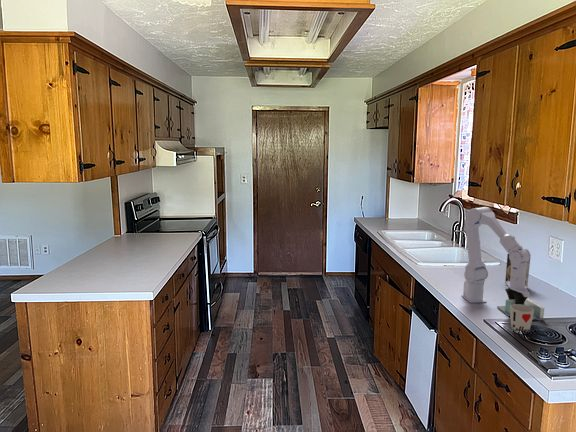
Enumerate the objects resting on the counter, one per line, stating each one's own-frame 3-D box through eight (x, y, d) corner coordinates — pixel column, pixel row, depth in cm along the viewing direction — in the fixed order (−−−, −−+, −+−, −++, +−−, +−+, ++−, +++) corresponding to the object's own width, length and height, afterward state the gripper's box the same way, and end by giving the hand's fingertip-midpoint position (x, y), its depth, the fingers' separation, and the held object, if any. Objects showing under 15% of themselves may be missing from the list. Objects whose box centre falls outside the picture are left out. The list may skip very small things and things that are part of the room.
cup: (507, 333, 166) (509, 309, 165) (509, 326, 173) (511, 302, 171) (530, 338, 162) (533, 313, 160) (532, 330, 168) (534, 306, 167)
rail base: (497, 308, 191) (498, 296, 190) (523, 307, 192) (524, 295, 191) (515, 321, 177) (516, 308, 176) (543, 320, 178) (544, 307, 177)
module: (505, 310, 186) (505, 299, 185) (518, 310, 186) (519, 298, 186) (510, 314, 182) (511, 302, 181) (523, 313, 182) (524, 301, 182)
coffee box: (504, 283, 225) (506, 253, 222) (514, 282, 226) (517, 252, 223) (517, 288, 216) (520, 257, 213) (528, 287, 217) (530, 256, 215)
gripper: (537, 282, 175) (535, 313, 177) (517, 271, 189) (514, 300, 191) (521, 282, 174) (518, 314, 177) (501, 272, 189) (499, 301, 191)
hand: (515, 307), depth 184 cm, fingers closed on module, 4 cm apart
